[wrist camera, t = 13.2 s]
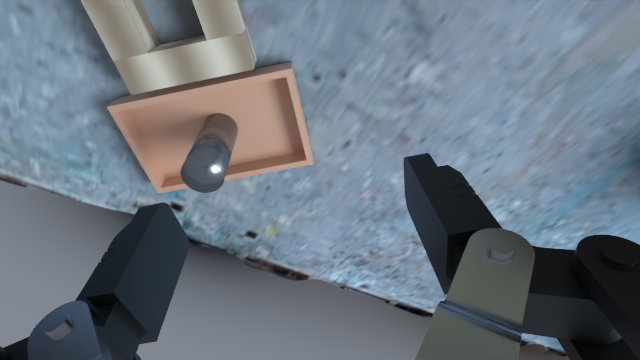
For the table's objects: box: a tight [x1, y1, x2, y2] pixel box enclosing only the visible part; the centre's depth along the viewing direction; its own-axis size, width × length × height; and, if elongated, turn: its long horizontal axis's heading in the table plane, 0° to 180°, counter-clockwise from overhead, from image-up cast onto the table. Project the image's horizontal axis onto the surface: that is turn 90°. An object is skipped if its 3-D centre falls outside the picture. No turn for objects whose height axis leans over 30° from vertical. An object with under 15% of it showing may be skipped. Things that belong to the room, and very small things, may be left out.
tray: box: [107, 61, 314, 194], centre depth 43 cm, size 22×13×3 cm, turn 100°
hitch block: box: [81, 0, 257, 95], centre depth 34 cm, size 14×14×4 cm
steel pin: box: [181, 113, 238, 193], centre depth 39 cm, size 4×4×11 cm
